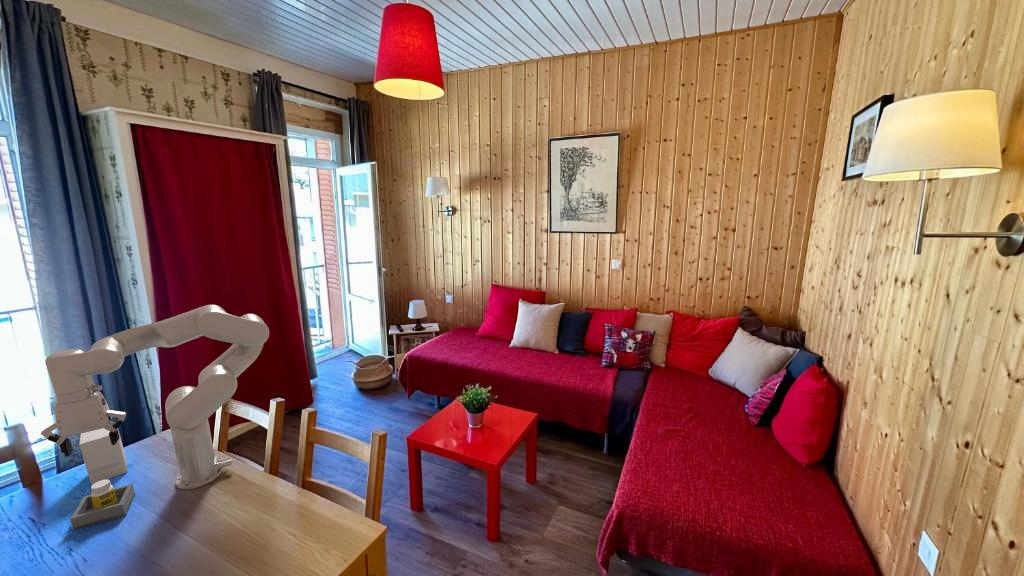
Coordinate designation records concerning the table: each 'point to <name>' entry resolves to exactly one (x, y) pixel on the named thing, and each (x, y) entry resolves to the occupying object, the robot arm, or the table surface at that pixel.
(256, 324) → the robot arm
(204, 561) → the table surface
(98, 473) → the supplement box
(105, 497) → the supplement bottle
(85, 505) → the bin
